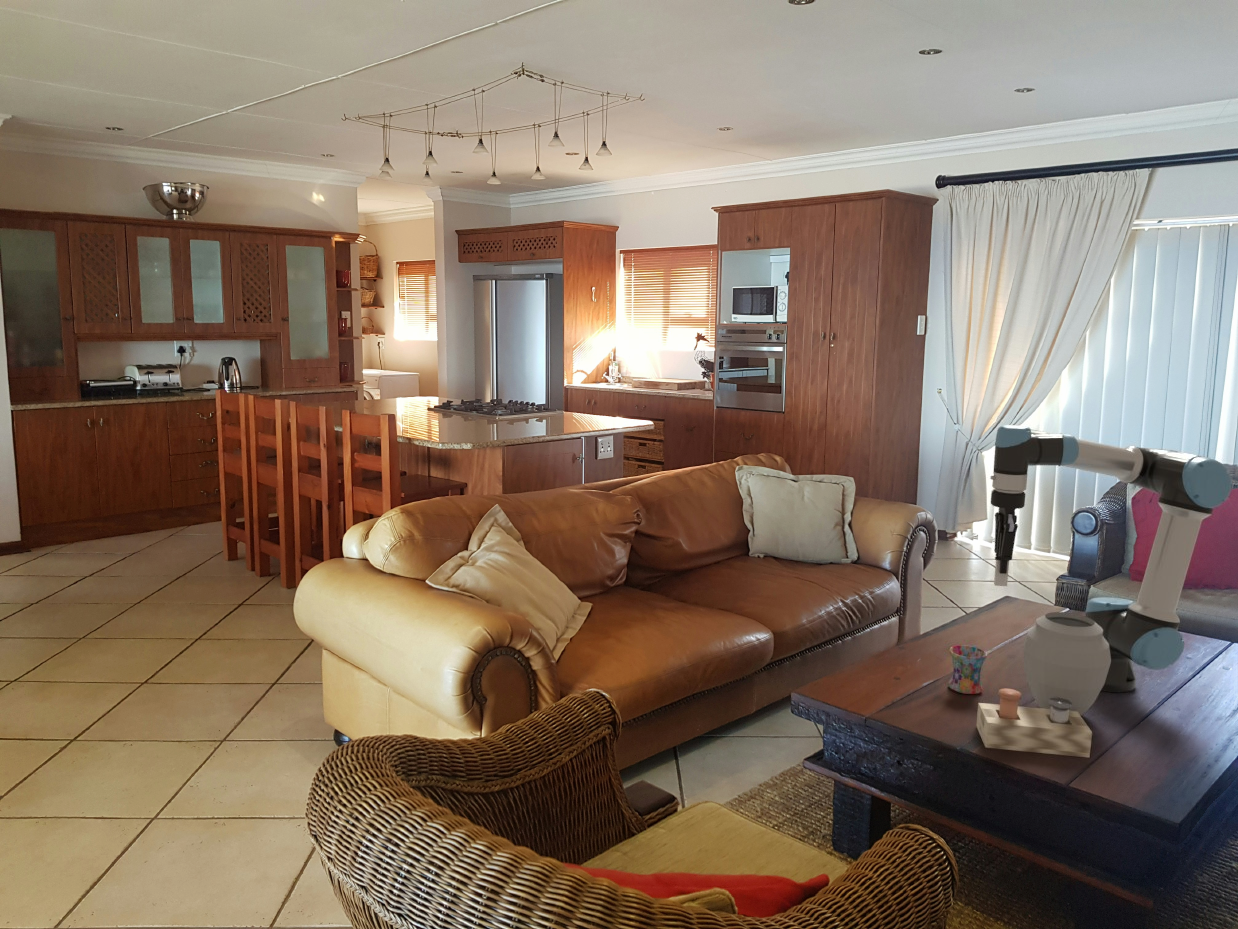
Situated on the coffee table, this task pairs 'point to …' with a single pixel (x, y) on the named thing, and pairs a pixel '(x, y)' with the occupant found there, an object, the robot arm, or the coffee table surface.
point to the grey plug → (1059, 710)
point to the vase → (1066, 660)
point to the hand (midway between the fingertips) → (1000, 585)
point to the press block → (1033, 731)
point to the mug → (967, 669)
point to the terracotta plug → (1008, 703)
